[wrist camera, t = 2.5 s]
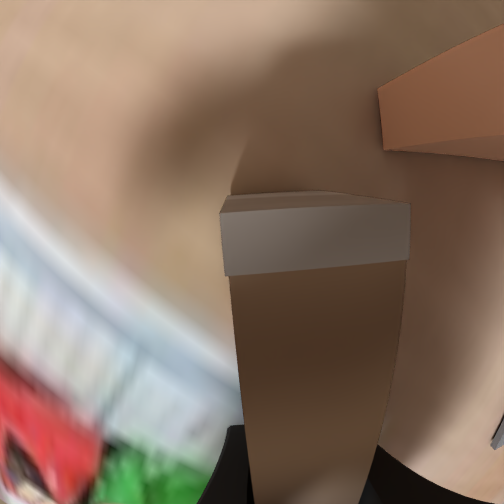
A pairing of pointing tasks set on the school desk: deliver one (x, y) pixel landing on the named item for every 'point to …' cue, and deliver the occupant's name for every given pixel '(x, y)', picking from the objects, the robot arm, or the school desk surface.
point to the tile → (449, 102)
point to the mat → (498, 437)
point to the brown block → (314, 334)
